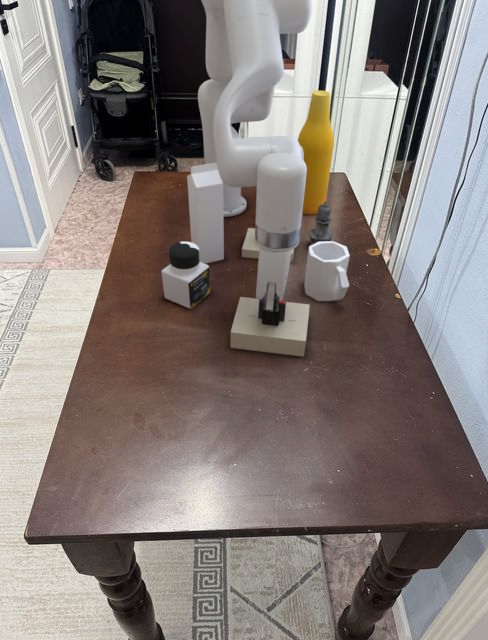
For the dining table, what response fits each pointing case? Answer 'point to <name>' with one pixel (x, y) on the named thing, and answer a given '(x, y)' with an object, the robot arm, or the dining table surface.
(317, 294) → the mug
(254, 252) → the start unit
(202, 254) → the milk
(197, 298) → the medicine bottle
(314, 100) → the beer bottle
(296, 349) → the beige flat block
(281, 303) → the knob
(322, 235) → the gray chess piece
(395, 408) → the dining table surface
